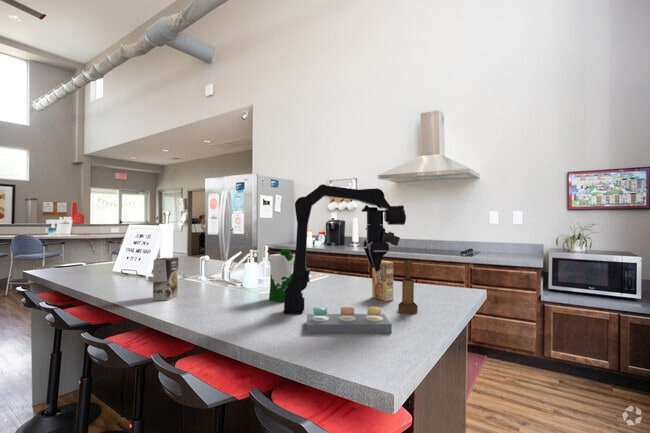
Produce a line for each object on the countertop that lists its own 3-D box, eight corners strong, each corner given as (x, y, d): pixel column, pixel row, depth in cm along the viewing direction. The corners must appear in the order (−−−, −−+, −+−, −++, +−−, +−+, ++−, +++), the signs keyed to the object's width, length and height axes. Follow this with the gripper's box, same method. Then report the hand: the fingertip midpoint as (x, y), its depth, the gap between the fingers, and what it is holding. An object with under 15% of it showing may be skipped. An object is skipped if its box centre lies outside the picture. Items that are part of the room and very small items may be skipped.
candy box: (394, 300, 139) (394, 261, 139) (386, 301, 136) (386, 262, 137) (379, 296, 146) (379, 259, 146) (371, 297, 144) (371, 260, 144)
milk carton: (282, 303, 133) (282, 250, 133) (265, 299, 138) (265, 249, 138) (297, 299, 140) (297, 249, 140) (280, 296, 145) (280, 248, 146)
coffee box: (168, 300, 136) (168, 259, 136) (152, 300, 136) (152, 259, 136) (178, 295, 145) (179, 257, 145) (163, 295, 145) (163, 257, 146)
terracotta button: (341, 315, 101) (341, 310, 101) (340, 312, 105) (340, 306, 105) (354, 315, 101) (354, 310, 101) (353, 311, 105) (353, 306, 105)
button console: (306, 333, 97) (306, 323, 97) (307, 322, 108) (307, 313, 108) (391, 333, 98) (391, 323, 98) (383, 321, 109) (383, 313, 109)
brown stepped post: (414, 314, 117) (414, 261, 117) (395, 312, 120) (395, 260, 121) (419, 310, 123) (419, 259, 123) (402, 308, 126) (402, 258, 126)
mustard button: (368, 315, 101) (368, 310, 101) (366, 311, 105) (366, 306, 105) (382, 315, 101) (382, 309, 101) (379, 311, 105) (379, 306, 105)
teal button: (313, 315, 101) (313, 310, 101) (313, 312, 105) (313, 306, 105) (327, 315, 101) (327, 310, 101) (326, 312, 105) (326, 306, 105)
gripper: (404, 225, 113) (404, 273, 112) (391, 224, 131) (391, 266, 131) (370, 225, 112) (370, 273, 112) (362, 224, 131) (362, 266, 131)
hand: (374, 269), depth 121 cm, fingers open, 9 cm apart
